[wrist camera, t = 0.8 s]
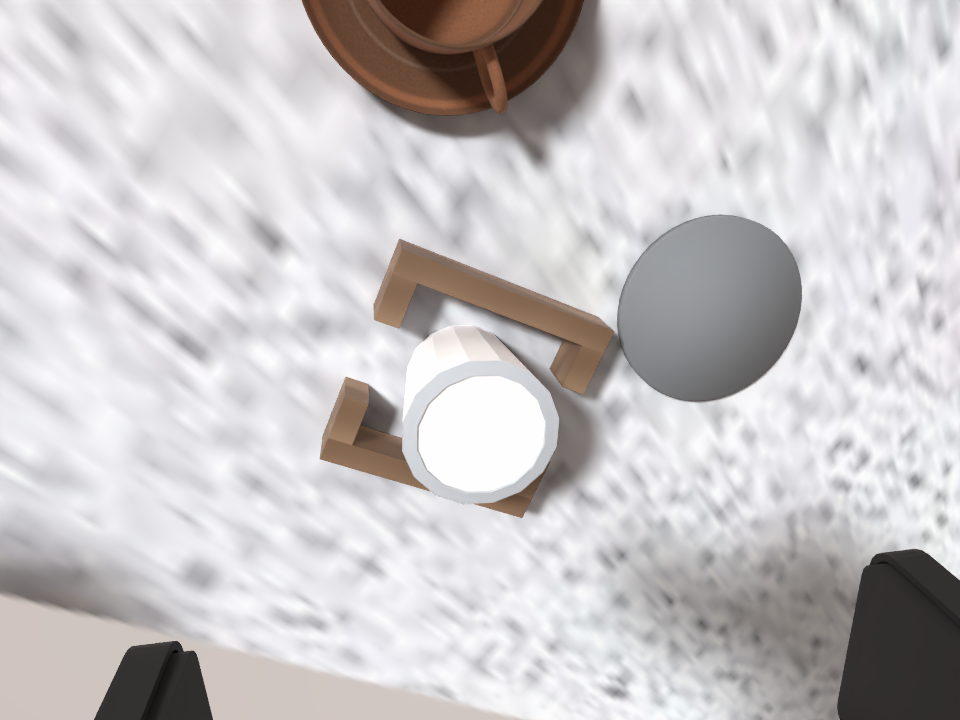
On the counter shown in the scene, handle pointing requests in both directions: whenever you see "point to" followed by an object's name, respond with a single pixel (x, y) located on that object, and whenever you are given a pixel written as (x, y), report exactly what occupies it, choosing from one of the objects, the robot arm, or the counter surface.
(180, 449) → the counter surface
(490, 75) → the cup and saucer
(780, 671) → the counter surface
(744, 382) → the coaster
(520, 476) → the white cylinder
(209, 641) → the counter surface
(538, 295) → the pocket
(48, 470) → the counter surface
